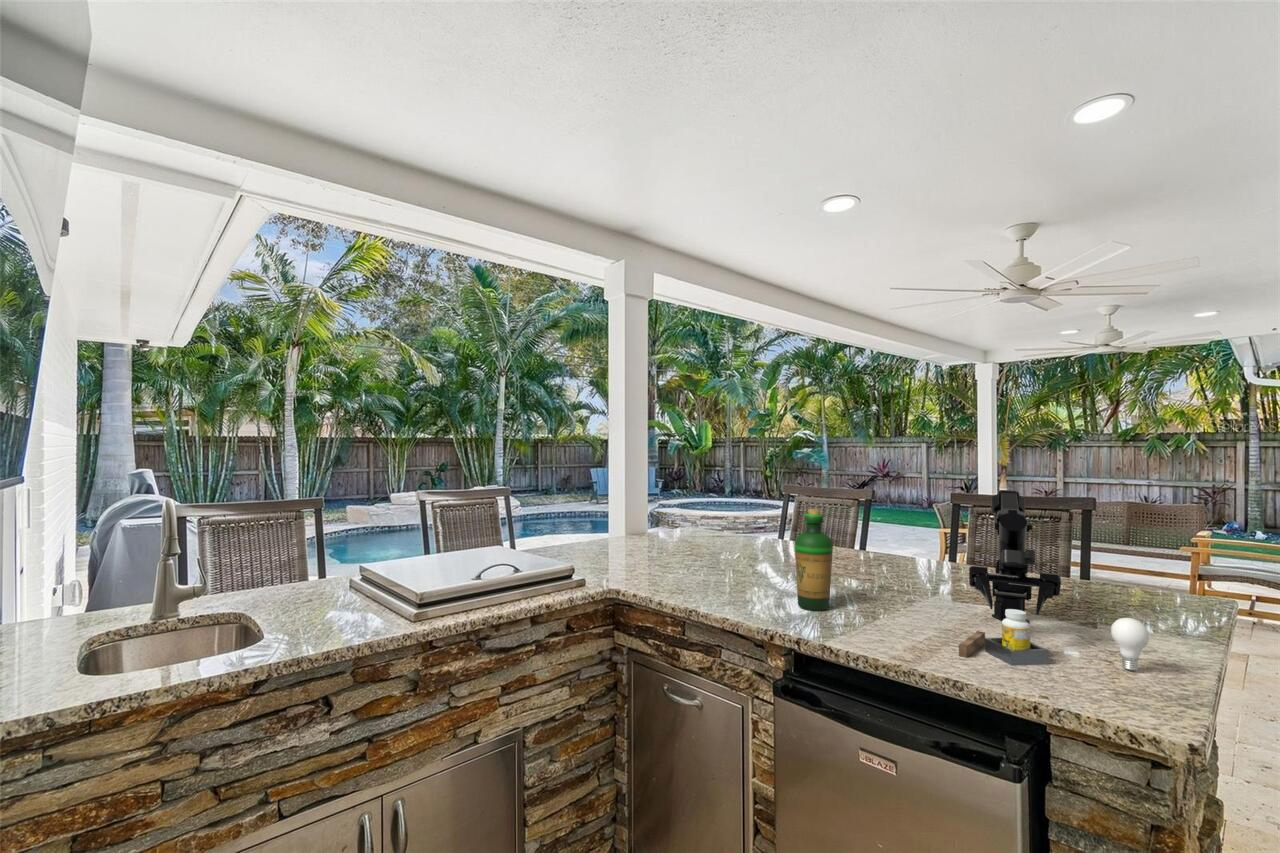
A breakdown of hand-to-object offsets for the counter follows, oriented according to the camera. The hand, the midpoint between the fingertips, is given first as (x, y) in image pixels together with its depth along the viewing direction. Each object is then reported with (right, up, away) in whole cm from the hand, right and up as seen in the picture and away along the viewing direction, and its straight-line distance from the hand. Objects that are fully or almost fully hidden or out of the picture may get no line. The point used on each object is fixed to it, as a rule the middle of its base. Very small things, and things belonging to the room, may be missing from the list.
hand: (1014, 611), depth 143 cm
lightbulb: (+16, -9, -14) cm, 23 cm away
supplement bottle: (-4, -8, -7) cm, 11 cm away
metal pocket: (-4, -8, -7) cm, 11 cm away
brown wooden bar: (-11, -8, -2) cm, 14 cm away
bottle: (-38, -9, +32) cm, 50 cm away
